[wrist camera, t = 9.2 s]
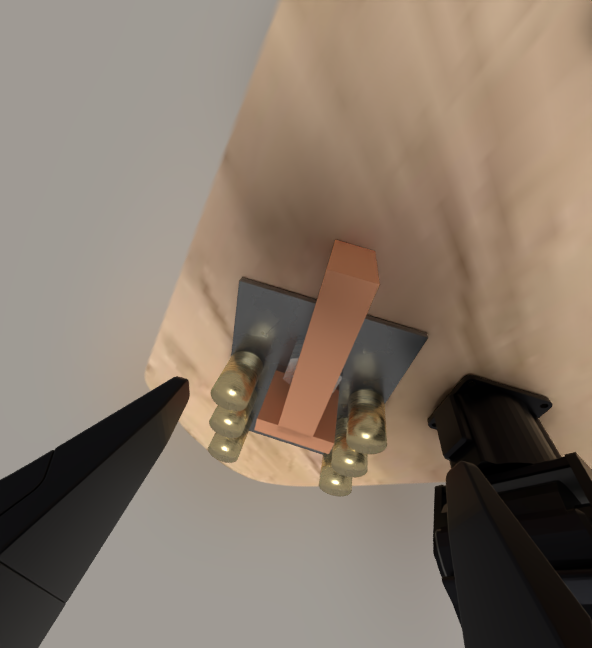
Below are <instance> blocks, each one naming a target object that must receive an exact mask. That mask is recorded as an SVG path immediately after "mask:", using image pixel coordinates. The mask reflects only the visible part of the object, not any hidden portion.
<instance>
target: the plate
mask: <svg viewBox="0 0 592 648" xmlns="http://www.w3.org/2000/svg"><path fill="white" fill-rule="evenodd" d="M316 301H317V300H316V299H313V298H309V297H306V296H303V295H299V294H296V293H293V292H289V291H286V290H283V289H280V288H276V287H273V286H270V285H266V284H263V283H260V282H256V281H253V280H250V279H246V278H243V277H242V278H241V279H240V280H239V288H238V297H237V307H236V316H235V326H234V335H233V345H232V354H231V358H230V360H229V361H228V363H227V365H226V366H225V368H224V370H223V371H222V373H221V375H220V376H219V378H218V380H217V381H216V383H215V385H214V386H213V388H212V390H211V397H212V399H213V400H214V402H215V403H216V404H218V406H217V408H216V409H215V411H214V413H213V415H212V417H211V419H210V421H209V424H210V426H211V428H212V429H213V430H214V431H215V432H216V433H215V435H214V437H213V439H212V441H211V443H210V445H209V447H208V451H209V453H210V454H211V455H212V456H213V457H214V458H216V459H217V460H220V461H222V462H227V463H233V462H235V461H237V459H238V457H239V454H240V451H241V449H242V446H243V444H244V441H245V439H246V436H247V434H248V431H252V432H255V433H258V434H261V435H264V436H267V437H270V438H273V439H276V440H279V441H282V442H286V443H289V444H292V445H295V446H298V447H301V448H304V449H307V450H310V451H313V452H316V453H319V454H322V455H323V459H322V466H321V474H320V481H319V487H320V489H321V490H322V491H324V492H326V493H327V494H330V495H333V496H346V495H349V494H350V493H351V491H352V489H351V488H352V477H360V476H363V475H365V474H366V473H367V454H377V453H380V452H382V451H383V450H385V448H386V447H387V436H386V421H385V405H384V404H385V403H386V401H387V400H388V398H389V397H390V395H391V394H392V392H393V391H394V389H395V387H396V386H397V384H398V383H399V381H400V380H401V378H402V377H403V375H404V374H405V372H406V371H407V369H408V368H409V366H410V365H411V363H412V362H413V360H414V359H415V357H416V356H417V354H418V353H419V351H420V349H421V348H422V346H423V345H424V343H425V342H426V340H427V339H428V335H427V333H426V332H422V331H419V330H416V329H412V328H409V327H406V326H402V325H399V324H396V323H392V322H389V321H386V320H382V319H379V318H376V317H372V316H369V315H366V317H365V319H364V322H363V324H362V326H361V328H360V331H359V333H358V335H357V338H356V340H355V342H354V344H353V347H352V349H351V351H350V353H349V356H348V358H347V360H346V362H345V365H344V367H343V375H342V379H341V381H340V382H339V384H338V386H337V387H336V389H337V390H339V398H338V409H337V420H336V431H335V442H334V445H333V447H332V449H331V451H330V453H329V454H326V453H323V452H320V451H317V450H314V449H311V448H308V447H305V446H302V445H299V444H296V443H293V442H289V441H286V440H283V439H280V438H277V437H274V436H271V435H268V434H265V433H262V432H259V431H256V430H254V429H255V425H256V421H257V417H258V415H259V412H260V410H261V407H262V404H263V402H264V399H265V397H266V394H267V392H268V389H269V386H270V384H271V381H272V379H273V376H274V374H275V371H279V372H283V373H285V371H286V368H287V365H288V362H289V360H290V357H291V355H292V352H293V350H294V347H295V344H296V342H297V341H298V340H305V337H306V334H307V330H308V327H309V324H310V321H311V317H312V314H313V311H314V308H315V305H316Z"/></svg>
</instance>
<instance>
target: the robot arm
mask: <svg viewBox="0 0 592 648" xmlns="http://www.w3.org/2000/svg"><path fill="white" fill-rule="evenodd" d="M471 381H473V382H471ZM189 396H190V393H189V381H188V380H187V379H185V378H182V377H178V376H177V377H173V378H172V379H170V380H168V381H167V382H165V383H163V384H162V385H160V386H158V387H157V388H155V389H153V390H152V391H150V392H148V393H147V394H145V395H143V396H142V397H140V398H138V399H137V400H135V401H133V402H132V403H130V404H128V405H127V406H125V407H123V408H122V409H120V410H118V411H117V412H115V413H114V414H112V415H110V416H108V417H107V418H105V419H103V420H102V421H100V422H98V423H97V424H95V425H93V426H92V427H90V428H88V429H87V430H85V431H83V432H82V433H80V434H78V435H77V436H75V437H73V438H72V439H70V440H68V441H67V442H65V443H63V444H62V445H60V446H58V447H57V448H56V449H55V450H52V451H50V452H48V453H46V454H45V455H43V456H41V457H40V458H38V459H37V460H35V461H33V462H32V463H29V464H28V465H26V466H24V467H22V468H21V469H19V470H17V471H16V472H14V473H12V474H10V475H8V476H7V477H5V478H3V479H1V480H0V648H38V647H39V646H40V644H41V642H42V641H43V639H44V638H45V636H46V635H47V633H48V631H49V630H50V628H51V626H52V625H53V623H54V622H55V620H56V619H57V617H58V616H59V614H60V612H61V611H62V609H63V607H64V606H65V603H66V602H67V601H68V599H69V598H70V596H71V594H72V593H73V591H74V590H75V588H76V587H77V585H78V584H79V582H80V581H81V579H82V577H83V576H84V574H85V572H86V571H87V569H88V568H89V566H90V565H91V563H92V562H93V560H94V558H95V557H96V555H97V554H98V552H99V551H100V549H101V547H102V546H103V544H104V543H105V541H106V539H107V538H108V536H109V535H110V533H111V532H112V530H113V528H114V527H115V525H116V524H117V522H118V521H119V519H120V517H121V516H122V514H123V513H124V511H125V509H126V508H127V506H128V505H129V503H130V501H131V500H132V498H133V497H134V495H135V493H136V492H137V490H138V489H139V487H140V486H141V484H142V483H143V481H144V479H145V478H146V476H147V475H148V473H149V472H150V470H151V468H152V467H153V465H154V464H155V462H156V461H157V459H158V457H159V456H160V454H161V453H162V451H163V449H164V448H165V446H166V444H167V442H168V441H169V439H170V437H171V434H172V432H173V431H174V428H175V426H176V424H177V422H178V420H179V418H180V416H181V414H182V412H183V410H184V408H185V406H186V404H187V402H188V400H189ZM551 407H552V403H551V402H550V400H549V399H548V398H546V397H542V396H539V395H536V394H533V393H529V392H526V391H523V390H520V389H516V388H513V387H510V386H506V385H503V384H500V383H497V382H493V381H490V380H487V379H484V378H480V377H477V376H474V375H468V376H466V377H464V378H463V379H462V381H461V382H460V383H459V384H458V385H457V386H456V388H455V389H454V390H453V391H452V392H451V393H450V395H448V396H447V397H446V398H445V400H444V401H443V402H442V403H441V404H440V406H439V407H438V408H437V409H436V410H435V411H434V413H433V414H432V416H431V417H430V418H429V419H428V425H429V427H430V428H433V429H436V430H437V431H438V435H439V440H440V444H441V448H442V452H443V455H444V457H445V459H447V460H449V461H450V465H451V470H450V471H449V472H448V473H447V476H446V485H445V486H444V485H439V486H436V487H435V499H434V530H433V533H434V534H433V542H434V543H433V545H434V547H433V549H434V550H433V552H434V556H435V559H436V561H437V565H438V568H439V571H440V574H441V576H442V582H443V585H444V587H445V589H446V591H447V593H448V595H449V597H450V599H451V601H452V603H453V606H454V608H455V611H456V614H457V617H458V619H459V622H460V624H461V627H462V631H463V638H464V645H465V648H592V469H591V468H590V467H589V466H588V465H587V464H586V463H585V462H584V461H583V460H582V459H581V458H580V456H579V455H578V454H577V453H576V452H574V453H570V454H566V455H565V457H561V455H560V454H559V452H558V450H557V449H556V447H555V445H554V444H553V442H552V440H551V439H550V437H549V435H548V434H547V432H546V430H545V429H544V427H543V425H542V424H541V422H540V420H539V419H538V418H539V417H540V416H542V415H543V414H544V413H545V412H547V411H548V410H549V409H550V408H551Z"/></svg>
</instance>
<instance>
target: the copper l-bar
mask: <svg viewBox="0 0 592 648" xmlns="http://www.w3.org/2000/svg"><path fill="white" fill-rule="evenodd" d="M379 285H380V283H379V276H378V269H377V262H376V255H375V251H373V250H369V249H366V248H362V247H359V246H356V245H352V244H349V243H345V242H342V241H338V240H335V242H334V246H333V249H332V252H331V255H330V259H329V262H328V265H327V269H326V272H325V275H324V279H323V282H322V285H321V288H320V292H319V295H318V298H317V301H316V305H315V308H314V311H313V314H312V317H311V321H310V324H309V327H308V330H307V334H306V337H305V340H304V343H303V346H302V350H301V353H300V356H299V359H298V363H297V366H296V369H295V372H294V375H293V379H292V382H291V385H289V384H288V383H287V382H286V381H285V380H284V379H283V377H284V374H285V373H283V372H279V371H275V374H274V376H273V379H272V381H271V384H270V386H269V389H268V392H267V394H266V397H265V399H264V402H263V404H262V407H261V410H260V412H259V415H258V417H257V421H256V425H255V429H254V430H256V431H259V432H262V433H265V434H268V435H271V436H274V437H277V438H280V439H283V440H286V441H289V442H293V443H296V444H299V445H302V446H305V447H308V448H311V449H314V450H317V451H320V452H323V453H326V454H329V453H330V451H331V449H332V447H333V445H334V442H335V431H336V420H337V409H338V398H339V390H337V389H335V391H334V393H333V394H332V392H333V390H334V387H335V385H336V383H337V381H338V378H339V376H340V374H341V372H342V369H343V367H344V365H345V362H346V360H347V358H348V356H349V353H350V351H351V349H352V347H353V344H354V342H355V340H356V338H357V335H358V333H359V331H360V328H361V326H362V324H363V322H364V319H365V317H366V315H367V313H368V310H369V308H370V306H371V304H372V301H373V299H374V297H375V294H376V292H377V290H378V288H379ZM331 394H332V396H331ZM330 396H331V397H330Z"/></svg>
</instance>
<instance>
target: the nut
mask: <svg viewBox="0 0 592 648" xmlns="http://www.w3.org/2000/svg"><path fill="white" fill-rule="evenodd" d="M303 343H304V340H298V341H297V342H296V344H295V347H294V350H293V352H292V355H291V357H290V360H289V362H288V365H287V368H286V371H285V374H284V377H283V379H284V380H285V381H286V382H287V383H288V384H289V385H291V382H292V379H293V375H294V372H295V369H296V366H297V363H298V359H299V356H300V353H301V350H302V346H303ZM342 375H343V369H342V372H341V374H340V376H339V378H338V381H337V383H336V385H335V387H334V390H333V392H332V394H333V393H334V391H335V389H336V387H337V386H338V384H339V382H340V381H341V379H342ZM332 394H331V396H332ZM331 396H330V397H331Z"/></svg>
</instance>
